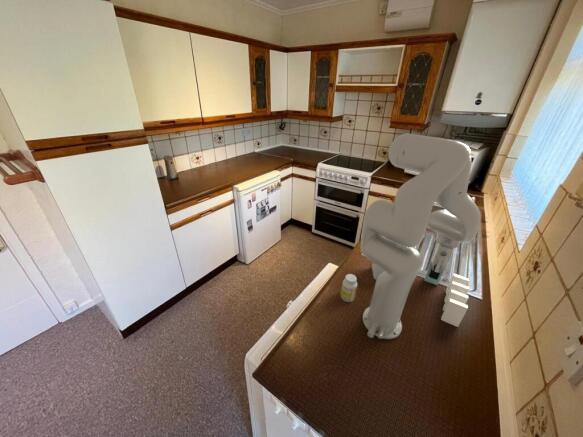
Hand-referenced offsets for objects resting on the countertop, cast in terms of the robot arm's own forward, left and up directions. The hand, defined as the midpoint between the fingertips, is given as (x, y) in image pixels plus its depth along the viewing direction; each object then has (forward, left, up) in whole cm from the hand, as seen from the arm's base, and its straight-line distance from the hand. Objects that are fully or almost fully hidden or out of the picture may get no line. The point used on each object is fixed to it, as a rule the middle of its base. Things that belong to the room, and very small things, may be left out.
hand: (433, 276), depth 97 cm
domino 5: (-18, -8, -3) cm, 20 cm away
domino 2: (-3, -8, -3) cm, 9 cm away
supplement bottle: (-28, +25, -3) cm, 37 cm away
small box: (-8, +19, -3) cm, 21 cm away
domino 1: (0, 0, -3) cm, 3 cm away
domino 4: (-13, -8, -3) cm, 15 cm away
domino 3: (-8, -8, -3) cm, 12 cm away
